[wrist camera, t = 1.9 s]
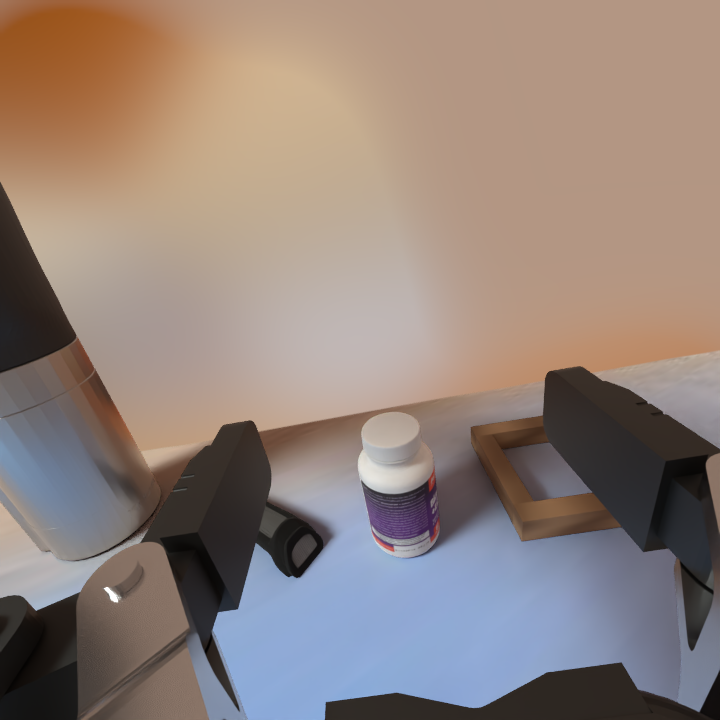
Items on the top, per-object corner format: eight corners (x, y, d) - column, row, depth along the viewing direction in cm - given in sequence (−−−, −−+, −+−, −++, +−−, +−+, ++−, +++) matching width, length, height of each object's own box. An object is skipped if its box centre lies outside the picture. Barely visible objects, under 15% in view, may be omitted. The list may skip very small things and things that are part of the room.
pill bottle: (452, 548, 25) (444, 441, 21) (381, 570, 25) (358, 465, 21) (425, 493, 30) (414, 398, 26) (365, 510, 30) (344, 416, 25)
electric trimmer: (220, 480, 37) (209, 457, 35) (328, 544, 27) (319, 516, 26) (187, 506, 34) (174, 482, 33) (294, 587, 25) (282, 558, 24)
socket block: (521, 541, 25) (522, 521, 24) (471, 443, 35) (470, 426, 34) (678, 518, 24) (685, 498, 24) (582, 426, 34) (584, 409, 34)
